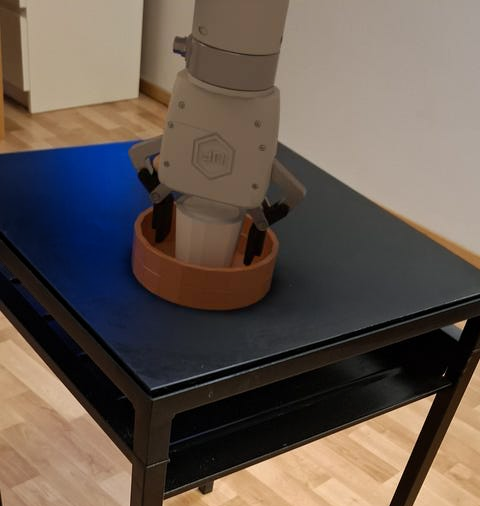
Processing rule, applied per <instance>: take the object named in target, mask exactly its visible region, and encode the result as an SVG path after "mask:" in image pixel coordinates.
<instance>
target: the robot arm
mask: <svg viewBox="0 0 480 506" xmlns="http://www.w3.org/2000/svg"><path fill="white" fill-rule="evenodd" d="M289 5H290V0H194V6H193V17H192V25H191V26H192V27H191V33H190V34H189V35H188V36H183V37H182V36H179V35H176V36H175V37H174V39H173V44H172V53H174V54H178V55H180V57H181V58H184V62H185V68H183V69H181V70H180V71H178V72H177V74H176V77H175V80H174V83H173V86H172V89H171V90H172V91H171V94H170V97H169V101H168V106H167V107H168V108H167V112H166V117H165V122H164V128H163V133H161V134H159V135H156V136H153V137H150V138H148V139H146V140H143V141H141V142H138V143H134V144H133V145H132V146H131V147H130V148H129V149H128V151H127V153H128V157H129V159H130V161H131V163H132V166H133V168H134V170H135V171H136V172H137V179H138V181H139V182H140V183H141V184H142V186H143V187H144V189H145V190H146V192H147V193H148V194H149V200H150V201H151V202H152V203H153V205H152V206H153V216H152V229H155V230H156V234H155V242H157V243H161V242H163V241H164V240H165V238H166V237H167V236H168V234H169V233H170V231H171V224H172V215H173V206H174V202H175V197H174V194H173V193H172V192H175V193H179V194H182V195H190V196H194V197H198V198H201V199H205V200H209V201H213V202H217V203H221V204H225V205H229V206H233V207H237V208H242V209H245V210H248V214H249V215H251V217H252V219H253V223H252V225H251V227H250V229H249V233H248V239H247V244H246V249H245V255H244V260H243V264H245V266H250V265H251V263H252V261H253V259H254V257H255V256H258V257H260V256H261V254H262V250H263V246H264V241H265V236H266V231H267V228H268V227H269V228H270V226H273V225H274V224H276V223H278V222H279V221H281V220H282V219H284V218H286V217H287V216H288V215H289V214H290V213H291V212H292V211H293V210H294V209H295V207H297V206H298V205H299V204H300V203H301V202H302V201H304V199H305V196H306V195H307V188H306V186H304V185H303V184H302V183H301V182H300V181H299V180H298V179H297V178H296V177H295V176H294V175H293V174H292V172H290V171H289V170H288V169H287V168H286V167H285V166H284V165H283V164H282V163H281V162H280V160H278V159H277V158H276V157H277V150H278V143H279V142H278V141H279V133H280V121H281V119H280V118H281V90H280V88H279V87H278V86H276V85H275V82H276V78H277V77H276V76H277V72H278V65H279V61H280V54H281V49H282V45H283V38H284V33H285V27H286V21H287V16H288V11H289ZM157 154H160V157H159V166H158V173H157V171H156V170H155V168H154V167H153V164H151V160H150V157H151V156H154V155H157ZM166 163H167V164H166ZM272 182H274V183H275V184H276V185H277V186H278V187H279V188H280V189H281V190H282V191H283V192H284V193H285V195H284V197H283V198H282V199H280V200H278V201H277V202H274V203H273V204H272V205H271V204H270V201H269V200H268V197H267V193H268V191H269V189H270V187H271V185H272Z"/></svg>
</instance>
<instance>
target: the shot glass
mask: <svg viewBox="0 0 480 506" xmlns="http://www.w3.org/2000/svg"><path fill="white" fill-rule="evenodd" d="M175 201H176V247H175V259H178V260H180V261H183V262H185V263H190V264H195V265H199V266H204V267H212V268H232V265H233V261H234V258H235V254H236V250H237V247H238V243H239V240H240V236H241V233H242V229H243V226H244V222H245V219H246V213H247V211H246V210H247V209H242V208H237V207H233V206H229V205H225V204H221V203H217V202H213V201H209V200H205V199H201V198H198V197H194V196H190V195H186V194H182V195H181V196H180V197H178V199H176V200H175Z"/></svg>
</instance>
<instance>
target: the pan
mask: <svg viewBox="0 0 480 506" xmlns="http://www.w3.org/2000/svg"><path fill="white" fill-rule="evenodd" d="M176 201H177V200H174V206H173V215H172V224H171V231H170V233H169V234H168V236H167V237H166V238H165V240H164V241H163V242H161V243H157V242H155V234H156V230H155V229H152V216H153V205H151V206H150V207H148V208H147V209H145V210H143V211H142V212H140V213H139V215H138V216H137V218H136V220H135V222H134V224H133V234H132V235H133V237H132V251H131V252H132V253H131V260H130V261H131V268H132V273H133V275H134V276H135V278H136V280H137V281H138V282H139V283H140V284H141V285H142V286H143V287H144V288H145V289H147V290H148V291H150V292H151V293H152V294H154V295H156V296H157V297H159V298H161V299H163V300H166V301H167V302H168V301H169V302H171V303H173V304H177V305H179V306H182V307H187V308H192V309H196V310H197V309H198V310H205V311H206V310H207V311H228V310H237V309H241V308H245V307H248V306H251V305H253V304H255V303H257V302H259V301H260V300H262V299H263V298H264V297H265V296H266V295H267V294H268V292H269V291H270V288H271V284H272V279H273V276H274V270H275V264H276V261H277V256H278V252H279V245H280V243H279V240H278V238H277V236H276V234H275V232H274V231H273V230H272V229H271V228H270V226H269V227H268V228H267V231H266V236H265V241H264V246H263V250H262V254H261V256H260V257H258V256H255V257H254V259H253V261H252V263H251V265H250V266H245V264H243V260H244V255H245V249H246V244H247V239H248V233H249V229H250V227H251V225H252V223H253V219H252V217H251V215H250V213H248V212H246V219H245V222H244V226H243V229H242V233H241V236H240V240H239V243H238V247H237V250H236V254H235V258H234V261H233V265H232V268H212V267H204V266H199V265H195V264H190V263H185V262H183V261H180V260H178V259H175V247H176Z"/></svg>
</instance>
